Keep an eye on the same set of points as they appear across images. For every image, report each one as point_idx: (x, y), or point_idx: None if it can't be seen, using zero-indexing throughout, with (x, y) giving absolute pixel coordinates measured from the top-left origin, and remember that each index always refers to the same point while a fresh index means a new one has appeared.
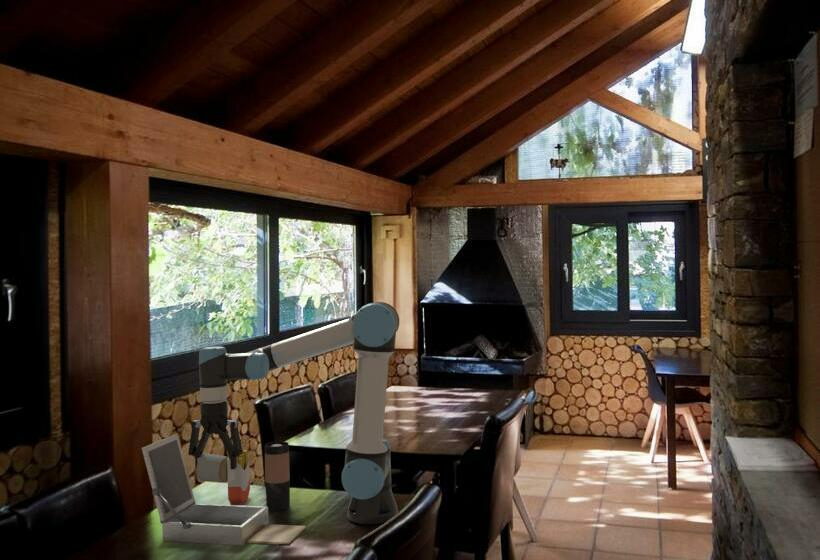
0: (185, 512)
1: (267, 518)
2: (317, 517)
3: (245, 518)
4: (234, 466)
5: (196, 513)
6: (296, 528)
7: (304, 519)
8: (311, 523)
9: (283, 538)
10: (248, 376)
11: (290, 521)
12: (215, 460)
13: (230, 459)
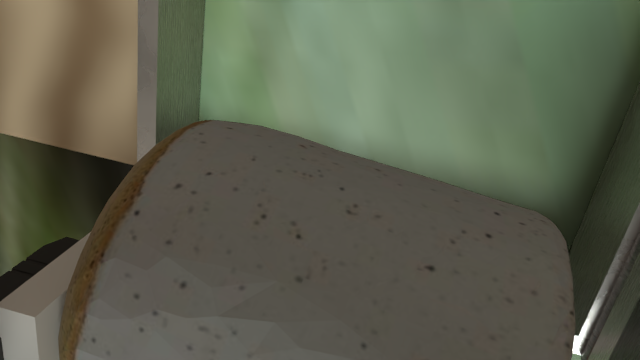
0: (619, 232)
1: None
2: (14, 247)
3: None
4: (33, 254)
5: None
6: (20, 104)
7: (52, 232)
8: (7, 183)
9: None
10: None
11: (98, 216)
12: (207, 293)
13: (12, 324)
